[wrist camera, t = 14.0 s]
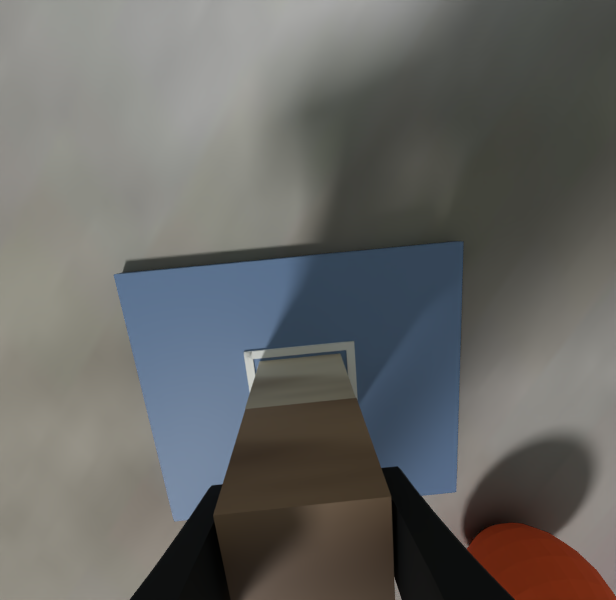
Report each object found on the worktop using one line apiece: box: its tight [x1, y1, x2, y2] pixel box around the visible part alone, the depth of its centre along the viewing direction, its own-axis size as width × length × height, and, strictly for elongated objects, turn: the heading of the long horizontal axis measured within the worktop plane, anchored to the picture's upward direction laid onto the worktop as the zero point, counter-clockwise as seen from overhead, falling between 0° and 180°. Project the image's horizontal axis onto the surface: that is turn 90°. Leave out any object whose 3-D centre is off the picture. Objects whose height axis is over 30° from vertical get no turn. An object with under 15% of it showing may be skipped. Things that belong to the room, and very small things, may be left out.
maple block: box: [245, 353, 356, 409], centre depth 13 cm, size 4×4×4 cm
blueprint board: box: [114, 241, 464, 521], centre depth 15 cm, size 14×16×1 cm
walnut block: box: [213, 398, 395, 600], centre depth 9 cm, size 4×4×4 cm
